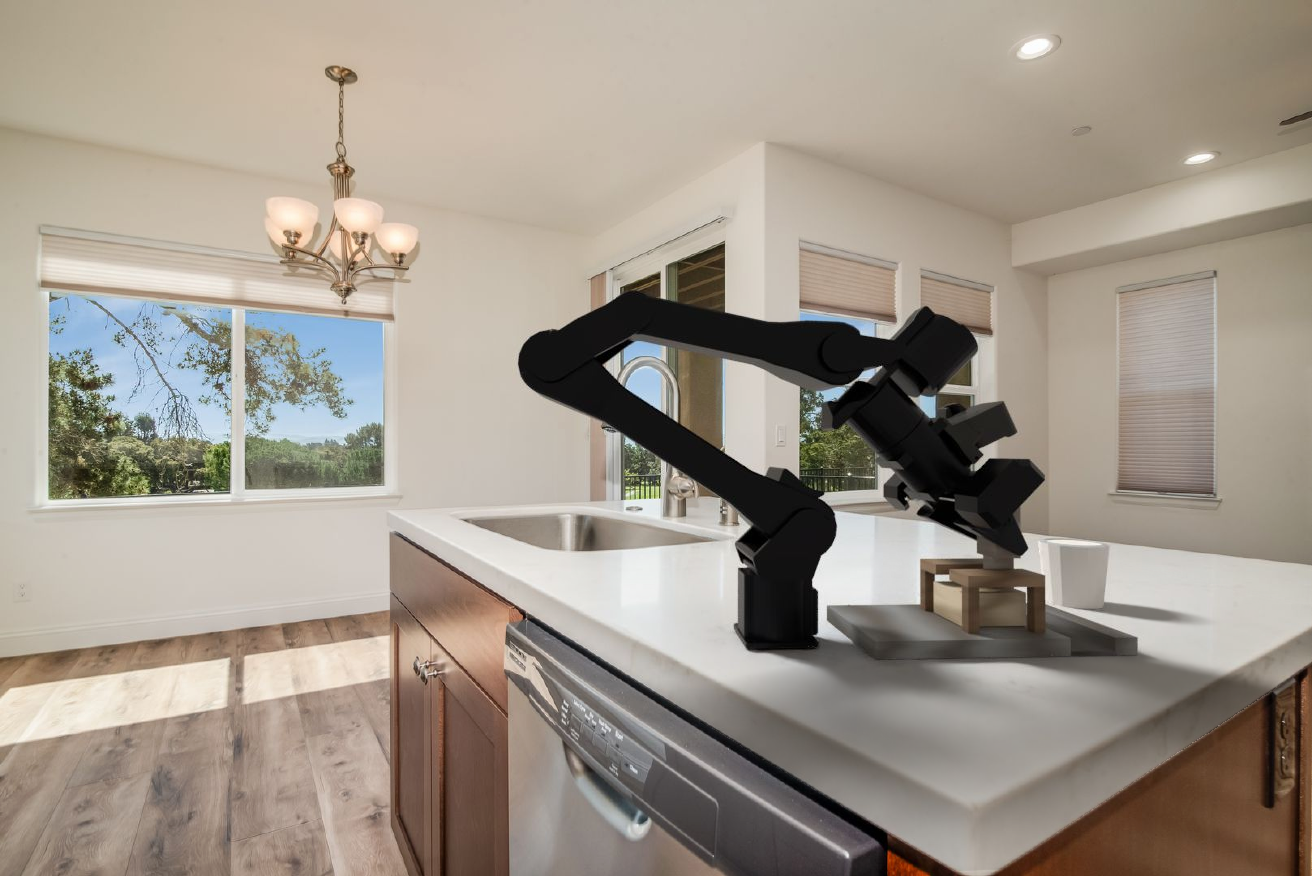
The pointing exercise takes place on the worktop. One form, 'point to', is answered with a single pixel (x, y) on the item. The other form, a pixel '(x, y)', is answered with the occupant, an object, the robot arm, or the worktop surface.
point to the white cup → (1074, 572)
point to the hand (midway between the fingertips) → (1012, 549)
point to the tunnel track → (975, 622)
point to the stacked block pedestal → (986, 591)
